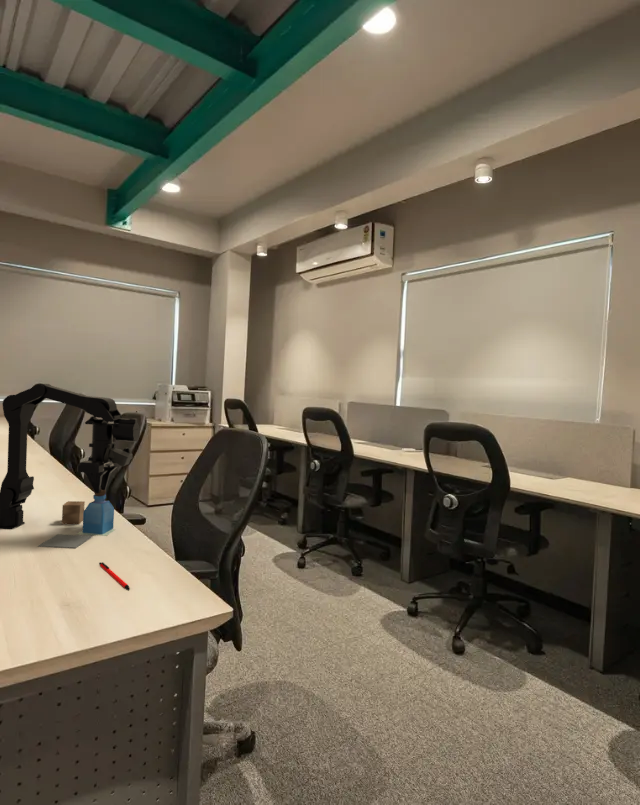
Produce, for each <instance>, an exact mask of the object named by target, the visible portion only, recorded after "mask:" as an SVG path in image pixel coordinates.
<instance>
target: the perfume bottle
mask: <svg viewBox="0 0 640 805" xmlns="http://www.w3.org/2000/svg"><path fill="white" fill-rule="evenodd" d="M93 492H94V491H93ZM92 497H93V501H91V502H88V505H87V506H86V507H85V508H84V512H83V521H82V530H83V533H93V534H104V533H106V532H108V531H110V530H111V529H114V518H115V508H114V506H113V504H112V503H111V502H110V500H106V499H107V494H106V489H105V490H101V489H100V492H99V493H95V492H94V494H93V496H92Z"/></svg>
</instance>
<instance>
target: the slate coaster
mask: <svg viewBox="0 0 640 805" xmlns="http://www.w3.org/2000/svg"><path fill="white" fill-rule="evenodd" d="M91 538H93V535H78V534H62V533H60V534H59V533H57V534H55V535H54V536H52V537H49V538H48V539H47V540H45V541H43V542H42V543H39V544H38V545H37V547H38V548H39V547H40V548H56V549H57V548H58V549H77V548H79V547H80V546H81V545H83V544H84V543H86V542H87V541H89V540H91Z"/></svg>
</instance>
